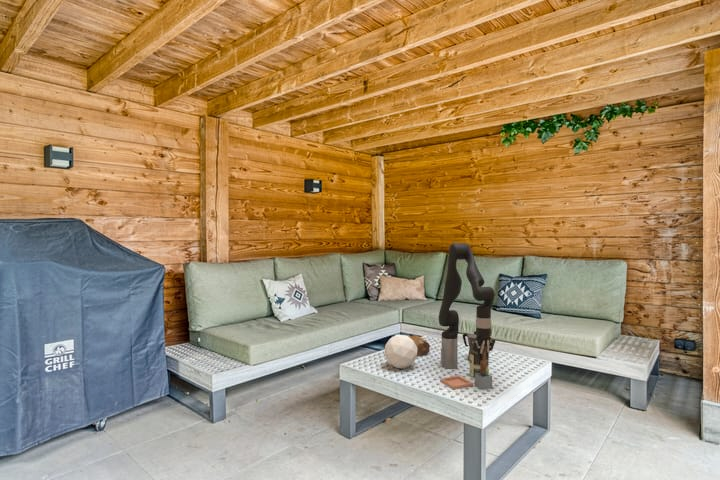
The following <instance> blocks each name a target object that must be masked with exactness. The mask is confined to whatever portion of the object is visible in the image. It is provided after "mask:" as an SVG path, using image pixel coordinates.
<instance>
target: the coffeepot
mask: <svg viewBox="0 0 720 480" xmlns="http://www.w3.org/2000/svg"><path fill="white" fill-rule="evenodd" d="M466 337H467V340H466ZM476 337H477V336H476V330H475V331H473V334H470V333H466V332H465V333H464V334H462V339H463V343H464V346H465V347H467V348H468V347H469V349H468V355H467V361H469V362H470V352H469V351H470V350H471V349H474V348H473V346H472V343H471V342H472V341H475V340H476ZM467 343H468V344H467ZM477 345H478V343H477Z"/></svg>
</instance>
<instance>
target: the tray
mask: <svg viewBox="0 0 720 480" xmlns="http://www.w3.org/2000/svg"><path fill="white" fill-rule="evenodd" d="M439 382H440V383H441V384H443V385H445V386H446V387H448V388H449V389H452V390H458V389H465V388H470V387H474V382H472V381H470V380H468V379H466V378H465V377H463V376H461V375H454V376H448V377H443V378H441V377H440V378H439Z"/></svg>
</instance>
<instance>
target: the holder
mask: <svg viewBox="0 0 720 480" xmlns="http://www.w3.org/2000/svg"><path fill="white" fill-rule="evenodd" d="M474 386H475V387H476V388H477V389H480V390H481V391H485V390H489V389H493V376H492V375H491V374H487V373H486V374H481V373H477V374H475V378H474Z"/></svg>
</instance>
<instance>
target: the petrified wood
mask: <svg viewBox="0 0 720 480" xmlns="http://www.w3.org/2000/svg"><path fill="white" fill-rule="evenodd" d="M407 336H408V337H410V338H411V339H412V340H413V341H414V343H415V344H416V346H417V348H418V349H417V357H419V356H424V355H426V354H429V353H430V350H431V348H430V343H429V342H427V340H425V339H424V338H423V337H421V336H419V335H418V334H412V335H407Z"/></svg>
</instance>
